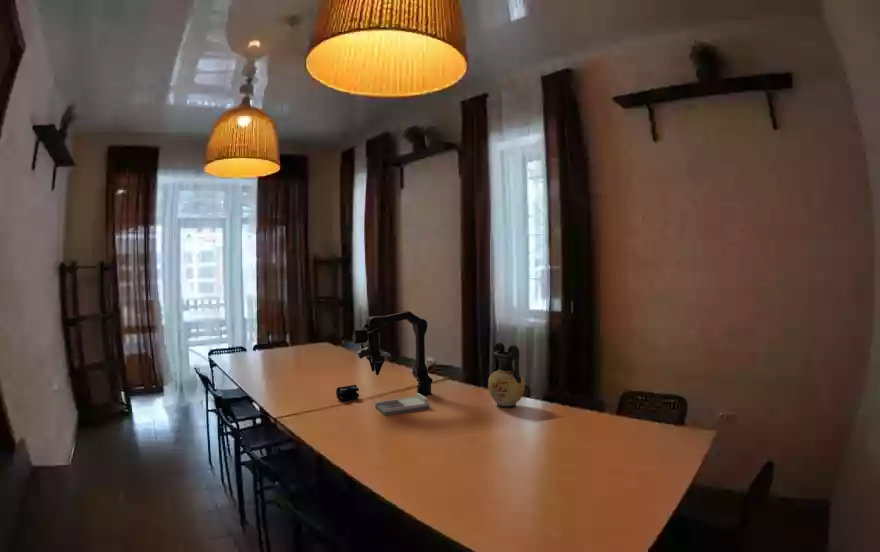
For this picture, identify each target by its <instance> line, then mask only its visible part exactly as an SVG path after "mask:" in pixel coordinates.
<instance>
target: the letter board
mask: <svg viewBox="0 0 880 552" xmlns="http://www.w3.org/2000/svg"><path fill="white" fill-rule="evenodd" d="M410 398H416V396H411V397H410V396H409V397H403V398H396V399H388V400H382V401H375V403H374V407H375V409H376V410H377V411H378V412H380V413H381V414H382V415H383V416H391V415H397V414H398V415H399V414H405V413H411V412H418V411H425V410H430V402H428V403H423V404H416V405H409V406H402V405H401V404H400V403H398V402H397V400H403V399H410Z"/></svg>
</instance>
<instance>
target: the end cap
mask: <svg viewBox="0 0 880 552" xmlns="http://www.w3.org/2000/svg"><path fill="white" fill-rule="evenodd" d="M359 391H360V389H359V387H357V384H351V385H344V386H339V387H336V390H335V395H336V398H337V400H338V401H339V402H341V403H348V402H353V401H358V400H359V397H360V393H359Z"/></svg>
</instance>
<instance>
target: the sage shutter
mask: <svg viewBox="0 0 880 552" xmlns="http://www.w3.org/2000/svg"><path fill="white" fill-rule="evenodd" d="M415 397H416V398H410V399H403V400H397V402H398V403H400V404H401V405H402V406H409V405H416V404H423V403H429V401H428V397H426V396H423V395H421V394H420V393H417V392H416V393H415Z"/></svg>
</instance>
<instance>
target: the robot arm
mask: <svg viewBox="0 0 880 552" xmlns="http://www.w3.org/2000/svg"><path fill="white" fill-rule="evenodd" d="M404 320H406V321H408V322H409V323H410V324H411V325H412V330H413V332H414V335H415V365H413V366H411V367H412V369H411V370H412V372H411V374H412V375H413V377H414V379H416V381H417V385H416V393H420V394H421V395H423V396H424V397H426V396H432V395H433V393H432V384H433V378H431V376H430V375H429V371H428V367H427V365H426V353H425V352H426V350H425V347H426V346H425V341H426V340H425V336H426V333H427V330H428V321H427V320H426V319H424V318H421V317H419V316H417V315H415V314H414V313H413V312H411V311H410V310H404V311H402V312H396V313H392V314H388V315H380V316H379V315H372V316H369V317H367V319H366V321H365V324H364V325H363V327H362V328H361V329H354V330H353V332H352V338H351V339H352V344H354V345H359V344H366V343H367V344H366V347H363V348H361V349H359V350H357V351H356V354H357V356H358V358H359V359H360V360H361V359H364V358H365V359H366V360H367V361H368V362H369V365H370V369H371V371H372V373H373V372H375V375H376V376H379V374H380V373H381V372H380V371H381V370H382V367H383V365H384V364H385V361H386V357H385V356H384V355H383V354H382V352H381V346H382V344H381V343H380V342H381V340H380V339H381V338H380V333H384V330H383V329H382V327H383V326H386V325H387V324H392V323H395V322H401V321H404Z"/></svg>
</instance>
